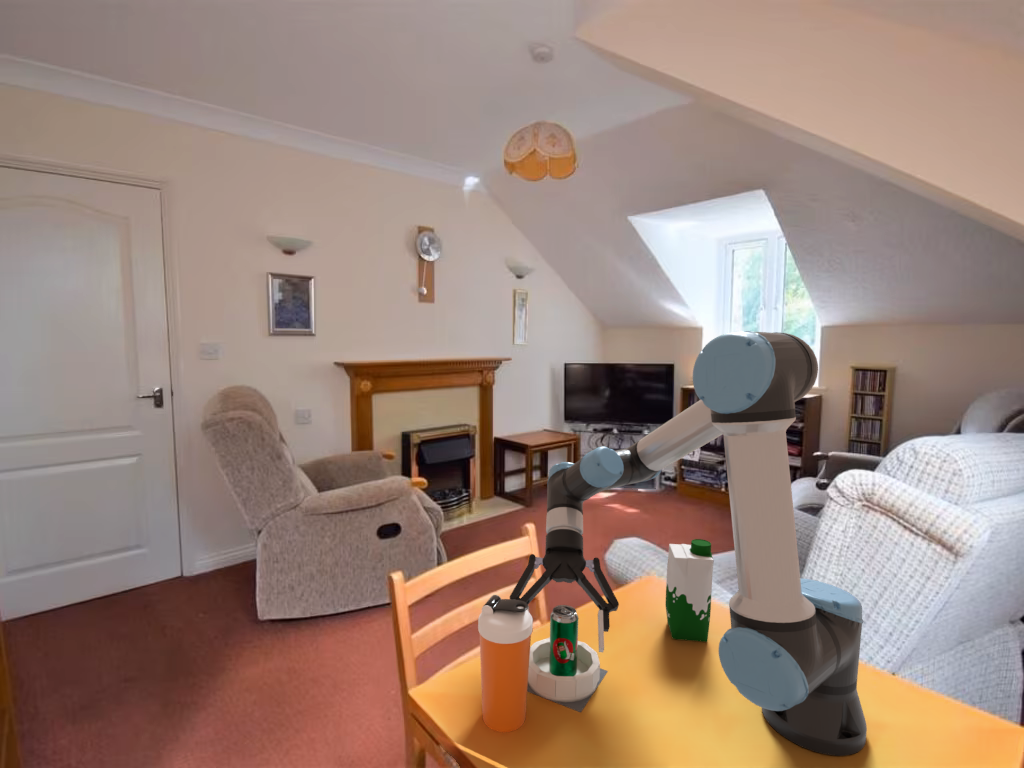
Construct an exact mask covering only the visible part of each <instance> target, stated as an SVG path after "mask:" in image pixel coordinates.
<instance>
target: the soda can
mask: <svg viewBox="0 0 1024 768" xmlns="http://www.w3.org/2000/svg"><path fill="white" fill-rule="evenodd" d="M549 617H550V618H549V620H550V621H549V623H550V625H549V638H550V659H549V670H550V673H551V674H552V675H555V676H575V675H576V673H577V649H578V641H579V640H578V639H579V615H578V614H577V610H576V608H575V607H574V606H571V605H567V604H560V605H556V606H554V607H553V608H552V611H551V612H550V616H549Z"/></svg>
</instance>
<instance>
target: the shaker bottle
mask: <svg viewBox="0 0 1024 768" xmlns="http://www.w3.org/2000/svg"><path fill="white" fill-rule="evenodd" d="M528 606H529V604H527V603H526V602H524V601H520V600H513V599H510V598H509V599H508V598H501V596H499V595H498V594H493V595H491V596H490V598H489V599H488V600H487V601H486V602H485V604H484V605H483V606H482V607H481V612H480V613H479V616H478V618H477V622H478V625H477V632H478V634H479V651H480V652H479V653H480V659H479V660H480V678H481V679H480V680H481V704H482V705H481V706H482V707H481V708H482V709H481V710H482V720H483V723H484V724H485V726H486V727H488V729H491V730H492V731H494V732H498V733H499V732H500V733H508V732H509V733H510V732H514V731H517V730H518V729H520V728H521V727H522V726H523V725H524V724H525V721H526V716H527V715H526V714H527V713H526V712H527V701H528V700H527V698H528V692H527V686H528V671H529V656H530V647H531V641H532V640H531V638H532V635H533V629H534V628H533V627H534V626H533V624H534V619H533V616H532V614H531V613H530V611H529V612H528V610H527V609H528Z"/></svg>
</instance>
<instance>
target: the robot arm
mask: <svg viewBox="0 0 1024 768" xmlns="http://www.w3.org/2000/svg"><path fill="white" fill-rule="evenodd" d="M818 373H819V364H818V358H817V356H816V354H815V352H814V350H813V349H812V348H811V346H810V345H809V344H808V343H807V342H806V341H804V340H803V339H802V338H800V337H798V336H796V335H794V334H790V333H786V332H776V331H775V332H766V331H752V330H744V331H741V330H740V331H739V330H738V331H737V332H727V333H725V334H721V335H718V336H716V337H714V338H713V339H711V340H710V341H709V342H707V343H706V344H705V345H704V347H703V348H702V350H700V352H699V354H698V355H697V357H696V360H695V361H694V364H693V370H692V384H693V388H694V393H695V394H696V396H697V397H698V401H696V402H695V403H693V404H692V405H690V406H688V408H686V409H684V410H683V411H682V412H679V413H678V414H676V415H675V416H673V417H672V418H671V419H669V420H667V421H666V422H664V423H662V424H661V425H660V426H659V427H657V428H656V429H654V430H652V431H651V432H649V433H648V434H647V435H645V436H644V437H642V438H641V439H639V440H638V441H636V442H635V443H633V444H632V445H630V446H628V447H627V448H621V449H617V450H615V449H613V448H609V447H607V446H604V445H603V446H598V447H597V448H594V449H592V450H590V451H588V452H587V453H586V454H585V455H583V457H581V458H580V459H579V460H577V461H576V462H575V463H573V462H569V461H561V462H560V463H555V464H554V465H552V466H551V467H550V469H549V471H548V479H547V484H546V486H547V487H546V488H547V489H546V490H547V492H546V493H547V496H546V497H547V498H546V499H547V500H546V520H545V521H546V524H545V526H546V527H545V532H546V535H545V553H544V557H540V556H536V555H535V554H532V553H531V554H530V555H529V557H528V563H527V565H526V567H525V570H524V571H523V573H522V574H521V576H520V578H519V580H518V581H517V583H516V584H515V587H514V588H513V590H512V592H511V593H510V595H509V599H513V600H520V601H524V602H526V603H527V604H528V609H527V610H528V612H529V613H530V605H529V604H530V603H531V602H532V601H533V600H534V599H535V597H537V595H538V594H539V593H540V592H541V591H542V590H543V589H544V588H545V587H546V586H547V585H548V584H549V583H551V582H552V581H554V582H555V583H567V584H572V583H574V582H576V583H577V585H578V586H579V587H581V588H582V589H583V591H584V592H585V594H586V595H587V596H588V597H589V599H591V601H592V602H593V603H594V604H595V606H596V607H597V608H598V613H597V632H598V634H597V635H598V639H597V640H598V653H604V650H605V635H604V634H605V632H606V633H607V632H609V630H610V626H611V625H610V613H611V612H616V611H618V608H619V606H620V604H619V601H618V599H617V597H616V595H615V594H614V592H613V590H612V588H611V585H610V583H609V582H608V581H607V578H606V575H604V573H603V571H602V568H601V562H600V559H599V557H594V558H593V559H586V558H584V536H583V534H584V516H583V515H584V512H583V511H584V509H583V508H584V502H586V501H588V500H589V499H591V498H592V497H594V496H596V495H597V494H599V493H601V492H604V491H608V490H611V489H615V488H619V487H624V486H628V485H632V484H637V483H643V482H648V481H650V480H652V479H655V478H657V477H658V476H659V475H660V474H661V472H662V470H664V469H665V468H667V467H668V466H670V465H671V464H674V463H675V462H678V461H679V460H681V459H682V458H684V457H686V456H687V455H689V454H691V453H693V452H695V451H696V450H698V449H700V448H701V447H703V446H705V445H706V444H709V443H710V442H712V441H713V440H716V439H717V438H719V437H720V436H722V435H723V444H724V455H725V463H726V464H725V465H726V474H727V476H726V477H727V485H728V495H729V506H730V513H731V514H730V515H731V516H730V517H731V526H732V537H733V546H734V547H733V549H734V555H735V566H736V578H737V587H738V590H737V592H736V593H735V594H734V595H732V596H731V597H730V598H729V602H728V605H729V617H730V625H731V626H730V627H731V628H729V629H727V630H726V632H724V634H723V635H722V637H721V638H720V641H719V643H718V658H719V662H720V665H721V668H722V671H723V672H724V674H725V675H726V677H727V679H728V680H729V682H730V683H731V684H732V685H733V686H734V687H735V688H736V690H737V691H738V693H740V694H741V696H742V697H744V698H745V699H747V700H748V701H749V702H751V703H752V704H754V705H755V706H757V707H759V708H761V711H762V715H763V716H764V718H765V720H766V722H768V724H769V725H770V726H771V727H772V728H773V729H774V730H775V731H776V732H778V734H780V735H781V736H782V737H784V738H785V739H787V740H789V741H790V742H791V743H793V744H795V745H797V746H800V747H802V748H805V749H807V750H810V751H812V752H815V753H818V754H823V755H830V756H839V757H840V756H842V757H843V756H850V755H854V754H856V753H859V752H860V751H861V750H863V748H864V747H865V745H866V741H867V733H868V732H867V731H868V730H867V721H866V718H865V714H864V710H863V707H862V704H861V700H860V696H859V693H858V690H857V689H858V686H857V685H858V675H859V665H860V664H859V663H860V652H861V651H860V650H861V640H862V629H863V628H862V627H863V624H864V619H863V606H862V603H861V602H860V600H859V599H858V598H857V597H856V596H855V595H854V594H852V593H850V592H848V591H847V590H844V589H843V588H841V587H838V586H836V585H832V584H829V583H828V582H823V581H819V580H814V579H810V578H802V577H801V573H800V571H801V570H800V561H799V552H798V550H799V549H798V543H797V532H796V523H795V522H796V521H795V510H794V502H793V500H794V499H793V491H792V481H791V480H792V479H791V470H790V462H789V452H788V451H789V449H788V442H787V433H786V432H787V430H788V428H790V427H791V425H792V424H793V423H794V422H795V421H796V419H797V415H796V404H795V403H796V402H797V401H799V400H801V399H803V398H804V397H805V396H806V395H807V394H808V393H809V392H810V391H812V389H813V387H814V385H815V384H816V381H817V379H818ZM541 565H542V566H543V568H544V569H545V571H544V572H543V573H542V575H541V576H540V577H539V578H538V579H537V580H536V581H535V583H533V585H532V586H531V587H530V588H529V589H528V590H527V591H526V592H525V593H524V590H525V588H526V587H527V585H528V583H529V581H530V579H531V578H532V576H533V574H534V572H535V570H538V568H539V567H540V566H541ZM586 568H588V570H589V571H590V572H591V573H593V575H594V578H595V580H596V582H597V584H598V587H600V590H601V592H602V594H603V595H604V598H605V599H604V598H603V597H602V595H601V593H599V592H598V590H597V589H596V588H595V586H594V585H592V583H591V582H590V581H589V580H588V579H587V577H586V575H585V574H584V573H583V571H584V570H585V569H586ZM523 593H524V594H523ZM522 594H523V595H522ZM520 597H521V598H520Z"/></svg>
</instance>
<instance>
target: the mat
mask: <svg viewBox="0 0 1024 768" xmlns="http://www.w3.org/2000/svg"><path fill="white" fill-rule="evenodd" d="M608 671H609V670H606V669H603V668H601V667H600V678H599V681H598V685H597V688H598V687H599V686H600V684H601V683H602V682H603V679H604V678H605V677H606V675H607V673H608ZM597 688H596V690H597ZM596 690H595V691H594V693H595V692H596ZM527 693H530V694H533V695H536V696H537V697H541V698H543V699H546V698H544V697H542V696H540V695H538V694H537V693H535V692H534V691H533V690H532V689H531V688H530V686H529V684H528V686H527ZM594 693H593V694H591V695H590V696H589V697H587V698H585V699H583V700H580V701H575V702H557V701H552V700H549V699H546V700H548V701H551V702H554V703H556V704H557V705H561V706H563V707H565V708H569V709H571V710H573V711H576V712H578V713H582V712H583V710H584V709H585V707H586V705H587V704H588V702H589V701H590V699H591V698H592V696H593V695H594Z"/></svg>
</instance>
